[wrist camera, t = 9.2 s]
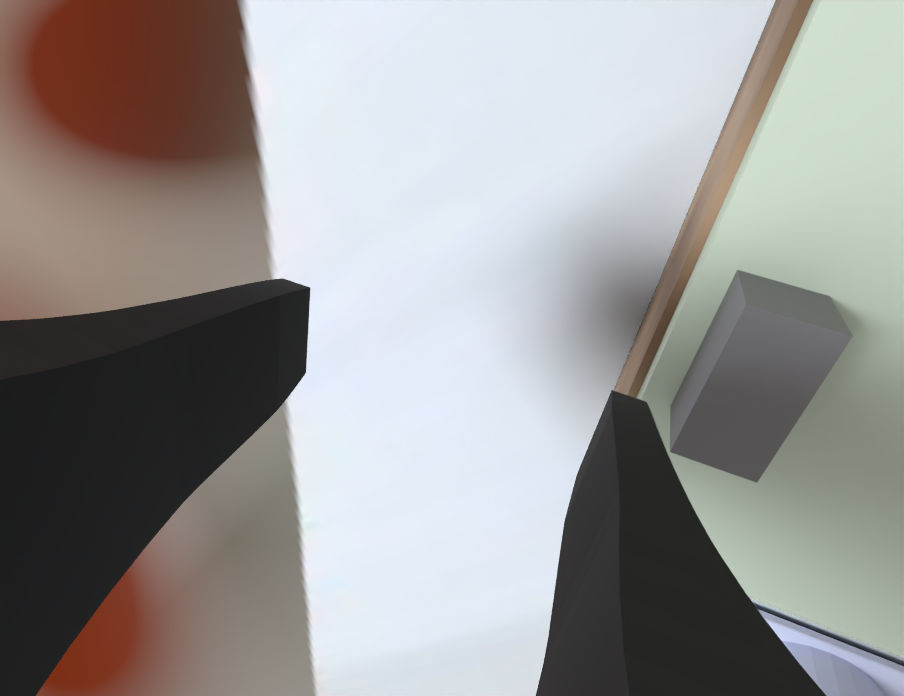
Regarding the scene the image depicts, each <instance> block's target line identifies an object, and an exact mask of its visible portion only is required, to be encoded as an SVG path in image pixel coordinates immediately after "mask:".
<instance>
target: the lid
mask: <svg viewBox="0 0 904 696" xmlns="http://www.w3.org/2000/svg"><path fill="white" fill-rule="evenodd" d="M637 399H640V400H643V401H646V402H647V404H648V406H649V408H650V410H651V413H652V415H653V418H654V420H655V423H656V426H657V428H658V431H659V433H660V436H661V438H662V441H663V443H664V446H665V448H666V451H667V453H668V455H669V458H670V460H671V462H672V465H673V467H674V469H675V471H676V473H677V475H678V477H679V480H680V482H681V484H682V486H683V488H684V490H685V492H686V494H687V496H688V498H689V500H690V502H691V504H692V506H693V508H694V510H695V512H696V514H697V516H698V518H699V519H700V521H701V523H702V525H703V527H704V528H705V530H706V532H707V534H708V536H709V537H710V539H711V541H712V542H713V544H714V546H715V547H716V549H717V550H718V552H719V554H720V555H721V557H722V558H723V560H724V561H725V563H726V564H727V566H728V567H729V569H730V570H731V572H732V573H733V575H734V576H735V578H736V579H737V581H738V582H739V584H740V585H741V587H742V588H743V590H744V591H745V593H746V594H747V596H748V597H749V598H751V599H753V600H756V601H759V602H761V603H764V604H766V605H769V606H771V607H774V608H777V609H779V610H782V611H784V612H787V613H789V614H792V615H794V616H797V617H800V618H802V619H805V620H807V621H810V622H812V623H815V624H818V625H820V626H823V627H825V628H828V629H830V630H833V631H835V632H838V633H841V634H843V635H846V636H848V637H851V638H853V639H856V640H859V641H861V642H864V643H866V644H869V645H871V646H874V647H876V648H879V649H882V650H884V651H887V652H889V653H892V654H894V655H897V656H900V657H902V658H904V0H813V2H812V4H811V7H810V9H809V11H808V13H807V16H806V18H805V20H804V22H803V25H802V27H801V29H800V31H799V34H798V36H797V38H796V40H795V43H794V45H793V47H792V49H791V52H790V54H789V56H788V58H787V61H786V63H785V65H784V67H783V70H782V72H781V74H780V76H779V79H778V81H777V83H776V85H775V87H774V90H773V92H772V94H771V96H770V99H769V101H768V103H767V105H766V108H765V110H764V112H763V114H762V117H761V119H760V121H759V123H758V126H757V128H756V130H755V132H754V135H753V137H752V139H751V141H750V144H749V146H748V148H747V150H746V153H745V155H744V157H743V159H742V162H741V164H740V166H739V168H738V171H737V173H736V175H735V177H734V180H733V182H732V184H731V186H730V189H729V191H728V193H727V195H726V198H725V200H724V202H723V204H722V207H721V209H720V211H719V213H718V216H717V218H716V220H715V222H714V225H713V227H712V229H711V231H710V234H709V236H708V238H707V240H706V243H705V245H704V247H703V249H702V252H701V254H700V256H699V258H698V260H697V263H696V265H695V267H694V269H693V272H692V274H691V276H690V278H689V281H688V283H687V285H686V287H685V290H684V292H683V294H682V296H681V299H680V301H679V303H678V305H677V308H676V310H675V312H674V314H673V317H672V319H671V321H670V323H669V326H668V328H667V330H666V332H665V335H664V337H663V339H662V341H661V344H660V346H659V348H658V350H657V353H656V355H655V357H654V359H653V362H652V364H651V366H650V368H649V371H648V373H647V375H646V377H645V380H644V382H643V384H642V386H641V389H640V391H639V393H638V395H637Z"/></svg>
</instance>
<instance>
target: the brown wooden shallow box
mask: <svg viewBox="0 0 904 696" xmlns="http://www.w3.org/2000/svg"><path fill="white" fill-rule="evenodd" d="M812 2H813V0H776V1H775V3H774V6H773V8H772V11H771V13H770V15H769V18H768V20H767V23H766V25H765V27H764V30H763V32H762V35H761V37H760V40H759V42H758V44H757V47H756V49H755V52H754V54H753V56H752V59H751V61H750V64H749V66H748V68H747V71H746V73H745V76H744V78H743V81H742V83H741V85H740V88H739V90H738V93H737V95H736V97H735V100H734V102H733V105H732V107H731V109H730V112H729V114H728V117H727V119H726V121H725V124H724V126H723V129H722V131H721V134H720V136H719V138H718V141H717V143H716V146H715V148H714V150H713V153H712V155H711V158H710V160H709V162H708V165H707V167H706V170H705V172H704V175H703V177H702V179H701V182H700V184H699V187H698V189H697V191H696V194H695V196H694V199H693V201H692V203H691V206H690V208H689V211H688V213H687V215H686V218H685V220H684V223H683V225H682V228H681V230H680V232H679V235H678V237H677V240H676V242H675V244H674V247H673V249H672V252H671V254H670V256H669V259H668V261H667V264H666V266H665V269H664V271H663V273H662V276H661V278H660V281H659V283H658V285H657V288H656V290H655V293H654V295H653V297H652V300H651V302H650V305H649V307H648V309H647V312H646V314H645V317H644V319H643V322H642V324H641V326H640V329H639V331H638V334H637V336H636V338H635V341H634V343H633V346H632V348H631V350H630V353H629V355H628V358H627V360H626V363H625V365H624V367H623V370H622V372H621V375H620V377H619V379H618V382H617V384H616V387H615V389H614V391H616V392H619V393H622V394H625V395H628V396H631V397H634V398H637V395H638V393H639V391H640V389H641V386H642V384H643V382H644V380H645V377H646V375H647V373H648V371H649V368H650V366H651V364H652V362H653V359H654V357H655V355H656V353H657V350H658V348H659V346H660V344H661V341H662V339H663V337H664V335H665V332H666V330H667V328H668V326H669V323H670V321H671V319H672V317H673V314H674V312H675V310H676V308H677V305H678V303H679V301H680V299H681V296H682V294H683V292H684V290H685V287H686V285H687V283H688V281H689V278H690V276H691V274H692V272H693V269H694V267H695V265H696V263H697V260H698V258H699V256H700V254H701V252H702V249H703V247H704V245H705V243H706V240H707V238H708V236H709V234H710V231H711V229H712V227H713V225H714V222H715V220H716V218H717V216H718V213H719V211H720V209H721V207H722V204H723V202H724V200H725V198H726V195H727V193H728V191H729V189H730V186H731V184H732V182H733V180H734V177H735V175H736V173H737V171H738V168H739V166H740V164H741V162H742V159H743V157H744V155H745V153H746V150H747V148H748V146H749V144H750V141H751V139H752V137H753V135H754V132H755V130H756V128H757V126H758V123H759V121H760V119H761V117H762V114H763V112H764V110H765V108H766V105H767V103H768V101H769V99H770V96H771V94H772V92H773V90H774V87H775V85H776V83H777V81H778V79H779V76H780V74H781V72H782V70H783V67H784V65H785V63H786V61H787V58H788V56H789V54H790V52H791V49H792V47H793V45H794V43H795V40H796V38H797V36H798V34H799V31H800V29H801V27H802V25H803V22H804V20H805V18H806V16H807V13H808V11H809V9H810V7H811V4H812Z"/></svg>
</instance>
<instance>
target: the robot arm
mask: <svg viewBox="0 0 904 696" xmlns="http://www.w3.org/2000/svg"><path fill="white" fill-rule="evenodd" d="M309 301H310V288H309V287H306V286H303V285H300V284H297V283H294V282H292V281H289V280H286V279H274V280H266V281H261V282H255V283H250V284H245V285H241V286H235V287H230V288H226V289H221V290H216V291H211V292H207V293H202V294H198V295H193V296H188V297H183V298H178V299H173V300H168V301H162V302H157V303H151V304H146V305H140V306H135V307H129V308H124V309H118V310H111V311H105V312H98V313H90V314H82V315H72V316H63V317H54V318H44V319H29V320H10V321H0V696H36V694H37V693H38V691H39V690H40V688H41V687H42V686H43V684H44V683H45V681H46V680H47V678H48V677H49V675H50V674H51V672H52V671H53V670H54V668H55V667H56V665H57V664H58V662H59V661H60V660H61V658H62V657H63V655H64V654H65V652H66V651H67V649H68V648H69V647H70V645H71V644H72V642H73V641H74V640H75V638H76V637H77V636H78V634H79V633H80V632H81V630H82V629H83V628H84V626H85V625H86V624H87V622H88V621H89V620H90V618H91V617H92V616H93V614H94V613H95V611H96V610H97V609H98V607H99V606H100V605H101V603H102V602H103V601H104V599H105V598H106V597H107V595H108V594H109V593H110V591H111V590H112V589H113V587H114V586H115V585H116V584H117V582H118V581H119V580H120V579H121V577H122V576H123V575H124V573H125V572H126V571H127V569H129V567H130V566H131V565H132V564H133V562H134V561H135V560H136V558H137V557H138V556H139V555H140V553H141V552H142V551H143V549H144V548H145V547H146V546H147V545H148V543H149V542H150V541H151V540H152V539H153V538H154V536H155V535H156V534H157V533H158V531H159V530H160V529H161V528H162V527H163V526H164V524H165V523H166V522H167V521H168V520H169V519H170V517H171V516H172V515H173V514H174V513H175V511H176V510H177V509H178V508H179V507H180V505H181V504H182V503H183V502H184V501H185V500H186V499H187V498H188V497H189V496H190V495H191V494H192V493H193V492H194V491H195V490H196V489H197V488H198V487H199V485H201V484H202V483H203V482H204V481H205V480H206V479H207V478H208V477H209V476H210V475H211V474H212V473H213V472H214V471H215V470H216V469H217V468H218V467H219V466H220V465H221V464H222V463H223V462H225V461H226V460H227V459H228V458H229V457H230V456H231V455H232V454H233V453H234V452H235V451H236V450H237V449H238V448H239V447H240V446H241V445H242V444H243V443H244V442H245V441H246V440H247V439H248V438H250V436H252V435H253V434H254V433H255V432H256V431H257V430H258V429H259V428H260V427H261V426H262V425H263V424H264V423H265V422H266V421H267V420H268V419H269V418H270V417H271V416H272V415H273V414H274V413H275V412H276V411H277V410H278V409H279V407H280V406H281V405H282V404H283V402H284V401H285V400H286V399H287V397H288V396H289V395H290V394H291V392H292V391H293V390H294V388H295V387H296V386H297V384H298V383H299V382H300V380H301V379H302V377H303V376H304V375H305V373H306V358H307V339H308V320H309ZM536 696H904V666H902V665H899V664H896V663H894V662H891V661H889V660H886V659H884V658H881V657H879V656H876V655H874V654H871V653H868V652H866V651H863V650H861V649H858V648H856V647H853V646H851V645H848V644H846V643H843V642H840V641H838V640H835V639H833V638H830V637H828V636H825V635H823V634H820V633H818V632H815V631H812V630H810V629H807V628H805V627H802V626H800V625H797V624H795V623H792V622H789V621H787V620H784V619H782V618H779V617H777V616H774V615H772V614H769V613H767V612H764V611H761V610H759V609H757V608H756V607H755V605H754V604H753V603H752V601H751V600H750V598H749V597H748V596H747V594H746V593H745V591H744V590H743V588H742V587H741V585H740V584H739V582H738V581H737V579H736V578H735V576H734V575H733V573H732V572H731V570H730V569H729V567H728V566H727V564H726V563H725V561H724V560H723V558H722V557H721V555H720V554H719V552H718V550H717V549H716V547H715V546H714V544H713V542H712V541H711V539H710V537H709V536H708V534H707V532H706V530H705V528H704V527H703V525H702V523H701V521H700V519H699V518H698V516H697V514H696V512H695V510H694V508H693V506H692V504H691V502H690V500H689V498H688V496H687V494H686V492H685V490H684V488H683V486H682V484H681V482H680V480H679V477H678V475H677V473H676V471H675V469H674V467H673V465H672V462H671V460H670V458H669V455H668V453H667V451H666V448H665V446H664V443H663V441H662V438H661V436H660V433H659V431H658V428H657V426H656V423H655V420H654V418H653V415H652V413H651V410H650V408H649V406H648V404H647V402H646V401H643V400H640V399H637V398H634V397H631V396H628V395H625V394H622V393H619V392H616V391H613V390H612V391H611V393H610V396H609V398H608V401H607V403H606V406H605V408H604V410H603V413H602V415H601V418H600V420H599V423H598V425H597V427H596V430H595V432H594V435H593V437H592V439H591V442H590V444H589V447H588V449H587V452H586V454H585V456H584V459H583V461H582V464H581V466H580V469H579V471H578V473H577V477H576V481H575V484H574V488H573V492H572V495H571V499H570V503H569V507H568V510H567V514H566V518H565V523H564V529H563V536H562V543H561V550H560V557H559V564H558V572H557V579H556V586H555V593H554V601H553V608H552V615H551V622H550V630H549V637H548V642H547V648H546V653H545V659H544V664H543V668H542V672H541V676H540V681H539V685H538V689H537V693H536Z"/></svg>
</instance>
